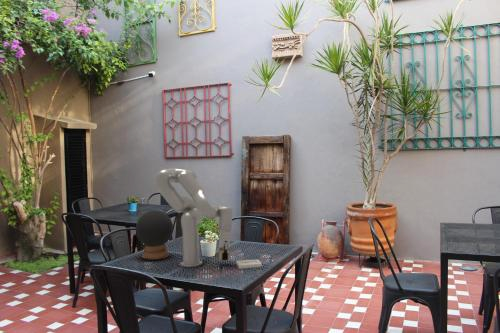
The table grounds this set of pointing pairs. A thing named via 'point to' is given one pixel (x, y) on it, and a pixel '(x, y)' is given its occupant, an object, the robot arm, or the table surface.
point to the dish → (248, 264)
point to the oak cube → (221, 254)
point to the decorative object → (154, 234)
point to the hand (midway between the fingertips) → (224, 258)
